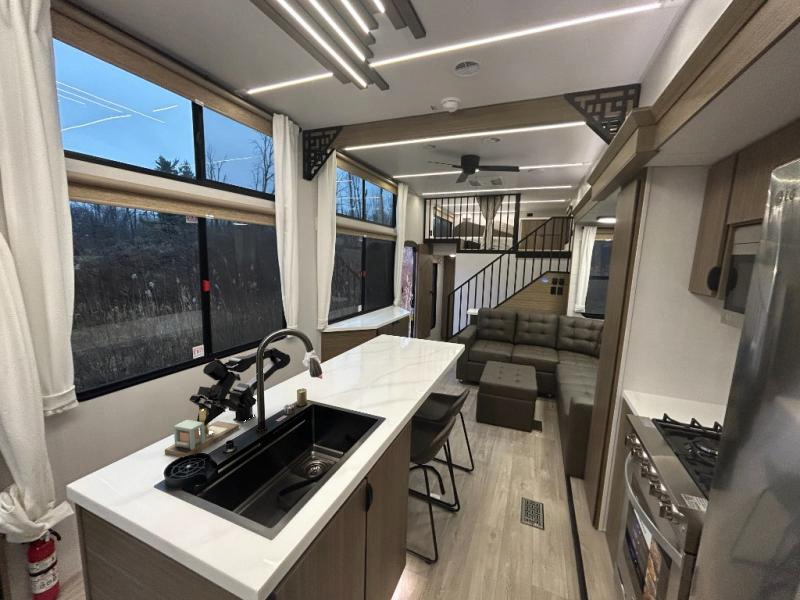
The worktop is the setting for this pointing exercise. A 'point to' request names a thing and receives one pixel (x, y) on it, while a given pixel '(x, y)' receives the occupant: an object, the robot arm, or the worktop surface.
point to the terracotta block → (186, 437)
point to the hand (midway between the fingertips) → (200, 424)
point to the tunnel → (190, 431)
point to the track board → (219, 432)
